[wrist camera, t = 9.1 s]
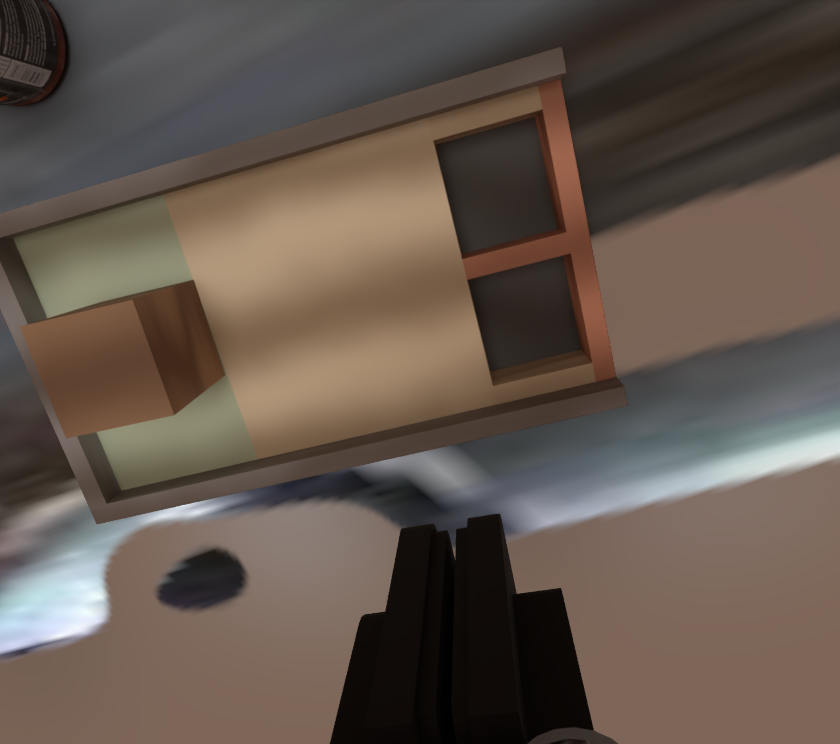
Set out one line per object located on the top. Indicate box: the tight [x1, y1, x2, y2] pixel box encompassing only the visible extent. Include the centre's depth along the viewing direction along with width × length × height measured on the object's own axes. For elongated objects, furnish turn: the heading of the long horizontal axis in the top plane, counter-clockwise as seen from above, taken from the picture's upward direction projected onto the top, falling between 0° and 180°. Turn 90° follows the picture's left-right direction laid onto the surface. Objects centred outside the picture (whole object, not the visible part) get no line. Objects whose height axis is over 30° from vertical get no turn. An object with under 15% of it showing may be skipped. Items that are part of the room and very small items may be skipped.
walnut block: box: [20, 280, 225, 438], centre depth 28 cm, size 5×5×6 cm
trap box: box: [0, 47, 628, 524], centre depth 31 cm, size 16×28×4 cm, turn 105°
